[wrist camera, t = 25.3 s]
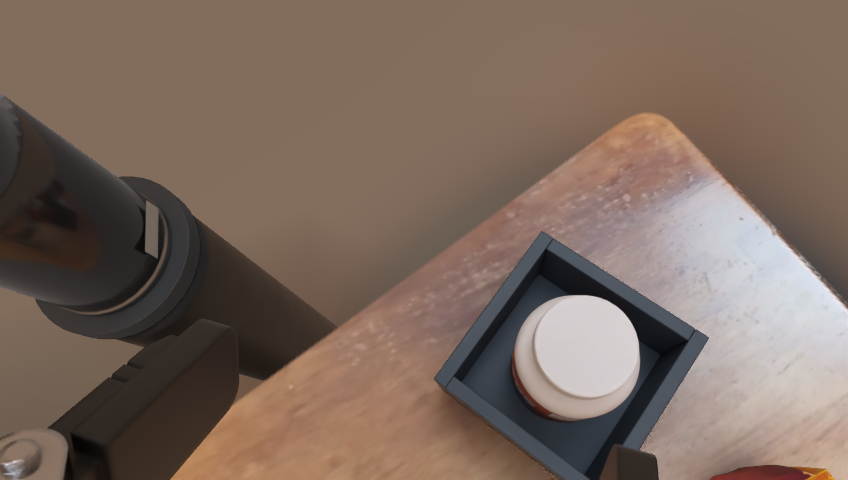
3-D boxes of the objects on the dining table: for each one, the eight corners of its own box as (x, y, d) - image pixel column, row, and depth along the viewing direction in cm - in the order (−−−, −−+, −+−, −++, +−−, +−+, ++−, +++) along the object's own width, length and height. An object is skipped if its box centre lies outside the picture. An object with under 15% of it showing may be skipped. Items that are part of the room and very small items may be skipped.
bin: (442, 389, 38) (433, 379, 32) (534, 262, 40) (541, 230, 34) (583, 498, 35) (602, 508, 29) (675, 354, 37) (709, 337, 31)
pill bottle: (506, 325, 38) (512, 280, 28) (603, 321, 38) (646, 274, 27) (512, 425, 36) (522, 417, 26) (615, 422, 36) (667, 413, 25)
